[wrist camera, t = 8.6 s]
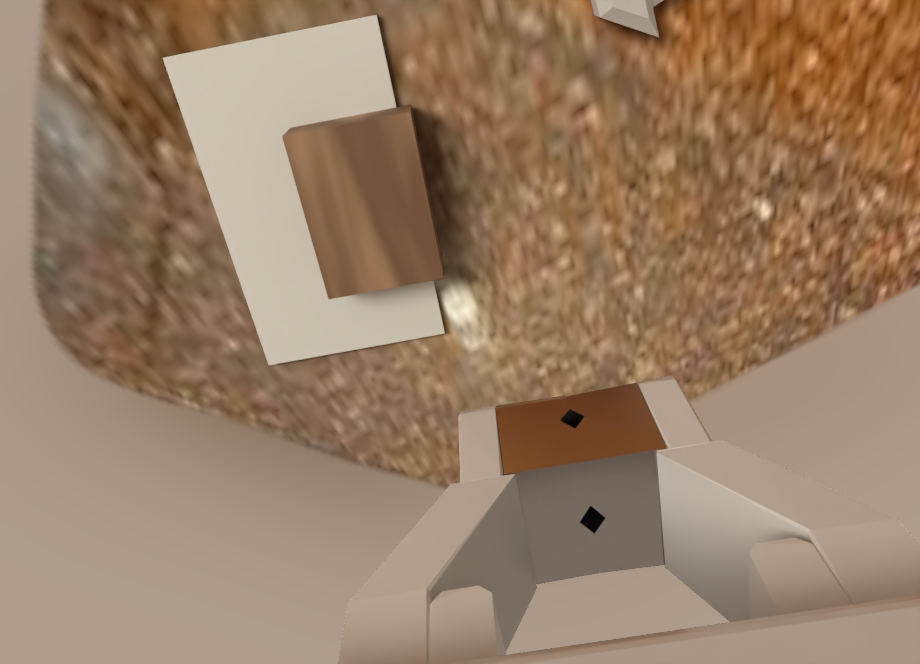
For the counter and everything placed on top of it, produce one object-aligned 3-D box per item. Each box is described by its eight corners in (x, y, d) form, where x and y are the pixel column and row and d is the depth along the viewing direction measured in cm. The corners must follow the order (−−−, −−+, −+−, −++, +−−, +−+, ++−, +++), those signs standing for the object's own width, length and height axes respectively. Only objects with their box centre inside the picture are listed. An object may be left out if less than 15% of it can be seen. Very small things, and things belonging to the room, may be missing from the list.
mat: (377, 14, 36) (376, 15, 35) (444, 330, 44) (444, 333, 43) (165, 57, 36) (162, 58, 36) (270, 362, 44) (268, 365, 44)
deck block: (410, 112, 35) (282, 136, 36) (444, 278, 39) (328, 299, 40) (411, 104, 37) (290, 127, 38) (443, 262, 41) (333, 283, 42)
